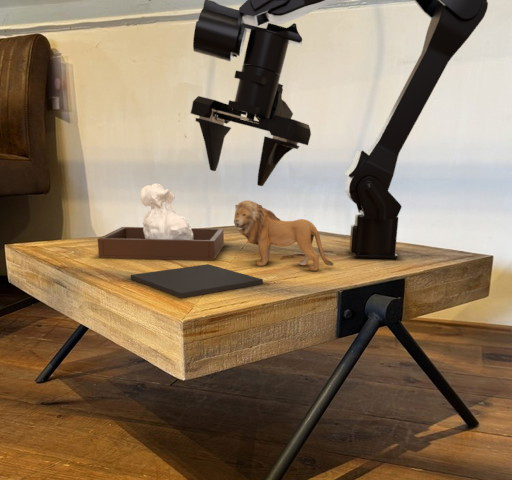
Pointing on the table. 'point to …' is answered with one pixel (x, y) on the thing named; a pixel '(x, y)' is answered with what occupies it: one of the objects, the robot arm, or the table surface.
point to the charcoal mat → (195, 280)
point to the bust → (163, 215)
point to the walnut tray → (161, 245)
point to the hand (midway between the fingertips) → (235, 178)
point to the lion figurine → (277, 233)
